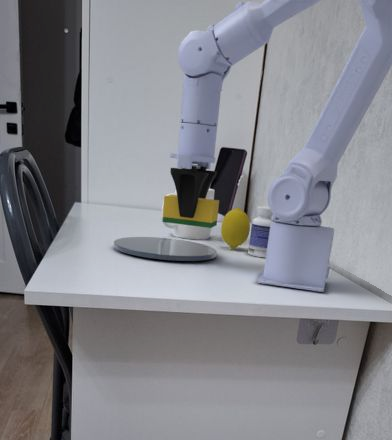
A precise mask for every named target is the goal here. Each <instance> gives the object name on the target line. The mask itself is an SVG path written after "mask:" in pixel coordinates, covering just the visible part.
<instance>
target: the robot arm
mask: <svg viewBox="0 0 392 440" xmlns="http://www.w3.org/2000/svg"><path fill="white" fill-rule="evenodd" d="M320 1H321V0H264V1H262V2H257V1H254V0H248V1H246V2H245V3H244V2H243V1H239V2H238V3H236V4H235V5H234V11H233V12H231V13H229V14H228V15H227V16H226V17H224V18H222V19H221V20H220V21H218V22H217V23H215V24H213V23H211V24H210V25H209V26H207V28H206V29H207V30H205V31H203V30H198V29H197V30H191V31H190V32H189V33H188V34H187V35H186V36H185V37H184V38H183V39H182V41H181V42H180V44H179V47H178V51H177V62H178V66H179V68H180V70H181V71H182V72H183V82H182V95H181V105H180V106H181V108H180V121H179V133H178V143H177V153H174V152H170V153H169V158H173V159H176V160H177V162H176V167H170V175H171V177H172V180H173V183H174V188H175V187H176V191H177V198H178V207H179V214H180V217H187V218H193V217H194V215H195V212H196V208H197V203H198V199H199V198H203V199H206V195H207V192H208V190H209V189H210V187H211V185H212V183H213V181H214V180H215V178H216V176H217V174H218V173H217V172H218V171H216V170H211V165H212V164H215V163H216V157H215V153H216V142H217V134H218V123H219V114H220V106H221V105H220V103H221V96H222V95H221V93H222V91H223V84H224V81H225V79H226V78H227V76H228V75H229V74H230V72H231V69H232V67H233V66H234V65H236V64H237V63H239V62H241V61H242V60H243V59H245V58H246V57H248V56H249V55H251V54H253V53H254V52H256V51H257V50H259V49H260V48H262V47H263V46H265V45H266V44H268V43H269V42H270V40H271V37H272V34H273V30H274V29H275V28H276V27H278V26H279V25H281V24H283V23H285V22H287V21H288V20H289V19H291V18H293V17H295V16H297V15H298V14H300V13H302V12H304V11H305V10H307V9H309V8H310V7H312V6H314V5H315V4H317V3H319V2H320ZM358 1H359V4H360V9H361V12H362V15H363V19H364V22H365V26H364V29H363V30H362V32H361V35H360V36H359V38H358V40H357V42H356V44H355V46H354V48H353V50H352V52H351V54H350V56H349V58H348V59H347V62H346V64H345V66H344V68H343V70H342V72H341V74H340V75H339V77H338V80H337V82H336V84H335V85H334V87H333V89H332V91H331V93H330V95H329V97H328V99H327V101H326V103H325V105H324V107H323V109H322V111H321V113H320V115H319V117H318V119H317V121H316V122H315V125H314V127H313V129H312V131H311V133H310V135H309V137H308V139H307V141H306V143H305V145H304V146H303V147H302V149H301V150H300V151H299V152H297V154H296V155H295V156H294V157H293V158H292V159H291V160H290V161H289V163H288V164H287V166H286V168H285V170H284V171H283V173H281V174H280V175H278V176H277V177H276V178H275V179H273V181H272V182H271V184H270V186H269V188H268V191H267V204H268V207H269V208H270V210H271V212H272V213H273V215H272V218H271V219H272V220H271V225H270V232H269V239H268V246H267V253H266V258H265V261H264V266H263V267H264V268H263V270H262V272H261V274H260V276H259V278H258V279H257V283H258V284H264V285H271V286H279V287H286V288H291V289H299V290H306V291H313V292H320V293H324V291H325V286H326V281H327V280H328V279H329V274H330V266H329V265H330V259H331V253H332V248H333V242H334V235H335V228H334V227H330V226H323V225H322V223H323V220H322V217H321V215H322V214H324V212H325V211H326V210H327V209H328V207H329V206H330V202H331V196H332V188H333V185H334V184H335V182H336V180H337V177H338V166H339V163H340V161H341V159H342V157H343V155H344V154H345V152H346V150H347V149H348V146H349V144H350V143H351V141H352V139H353V137H354V135H355V134H356V132H357V130H358V128H359V126H360V124H361V123H362V121H363V120H364V119H363V118H364V117H365V115H366V113H367V112H368V110H369V108H370V106H371V105H372V102H373V100H374V99H375V97H376V95H377V93H378V91H379V90H380V88H381V86H382V84H383V83H384V80H385V78H386V77H387V75H388V73H389V71H390V69H391V67H392V0H358Z"/></svg>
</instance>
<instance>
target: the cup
mask: <svg viewBox="0 0 392 440" xmlns="http://www.w3.org/2000/svg"><path fill="white" fill-rule="evenodd" d="M174 188H175V189H174V192H170V193H167V194H166V195H165V196H168V195H177V191H176V187H175V186H174ZM206 199H212V200H215V189H213V188H209V190H208V192H207V195H206ZM163 207H164V199H163V201H162V204H161V209H160V210H161V211H160V215H161V216H160V217H161V222H162V221H163ZM162 224H163V225H164V226H165V227H166V228H168V229H171V234H172V236H174V237H176V238H180V239H187V240H195V241H196V240H197V241H201V240H203V241H204V240H208V239H209V238H210V235H211V229H212V228H207V227H199V226H191V225H183V224H175V223H167V222H162Z"/></svg>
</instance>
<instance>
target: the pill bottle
mask: <svg viewBox="0 0 392 440" xmlns="http://www.w3.org/2000/svg"><path fill="white" fill-rule="evenodd" d="M256 215H257V217H254V218H253V219H252V221H251V226H250V234H249V243H248V249H247V253H248V255H250V256H253V257H257V258H265V259H266V253H267V246H268V239H269V232H270V225H271V220H272V219H271V218H272V215H273V213H272V212H271V210H270V208H269V206H264V205H263V206H262V205H261V206H257V208H256Z"/></svg>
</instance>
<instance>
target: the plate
mask: <svg viewBox="0 0 392 440" xmlns="http://www.w3.org/2000/svg"><path fill="white" fill-rule="evenodd" d="M113 248H114V249H115V250H117V251H118V252H121V253H125V254H128V255H130V256H136V257H141V258H147V259H155V260H165V261H177V262H199V261H200V262H201V261H208V260H213V259H215V258H216V257H217V254H218V253H217V249H216V248H214V247H212V246H209V245H207V244H203V243H200V242H194V241H191V240H190V241H189V240H183V239H177V238H168V237H167V238H166V237H156V236H155V237H154V236H130V237H129V236H128V237H121V238H117V239H115V240H113Z"/></svg>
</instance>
